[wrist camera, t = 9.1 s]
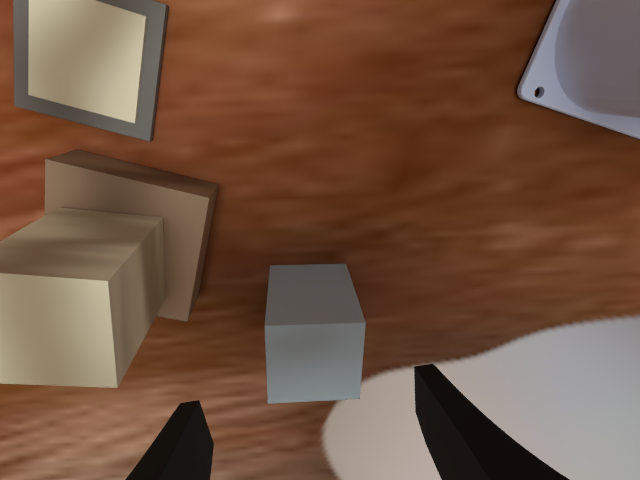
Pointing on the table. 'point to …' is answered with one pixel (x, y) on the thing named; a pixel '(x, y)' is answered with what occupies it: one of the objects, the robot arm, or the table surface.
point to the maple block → (78, 296)
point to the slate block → (313, 334)
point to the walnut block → (143, 212)
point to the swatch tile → (91, 61)
